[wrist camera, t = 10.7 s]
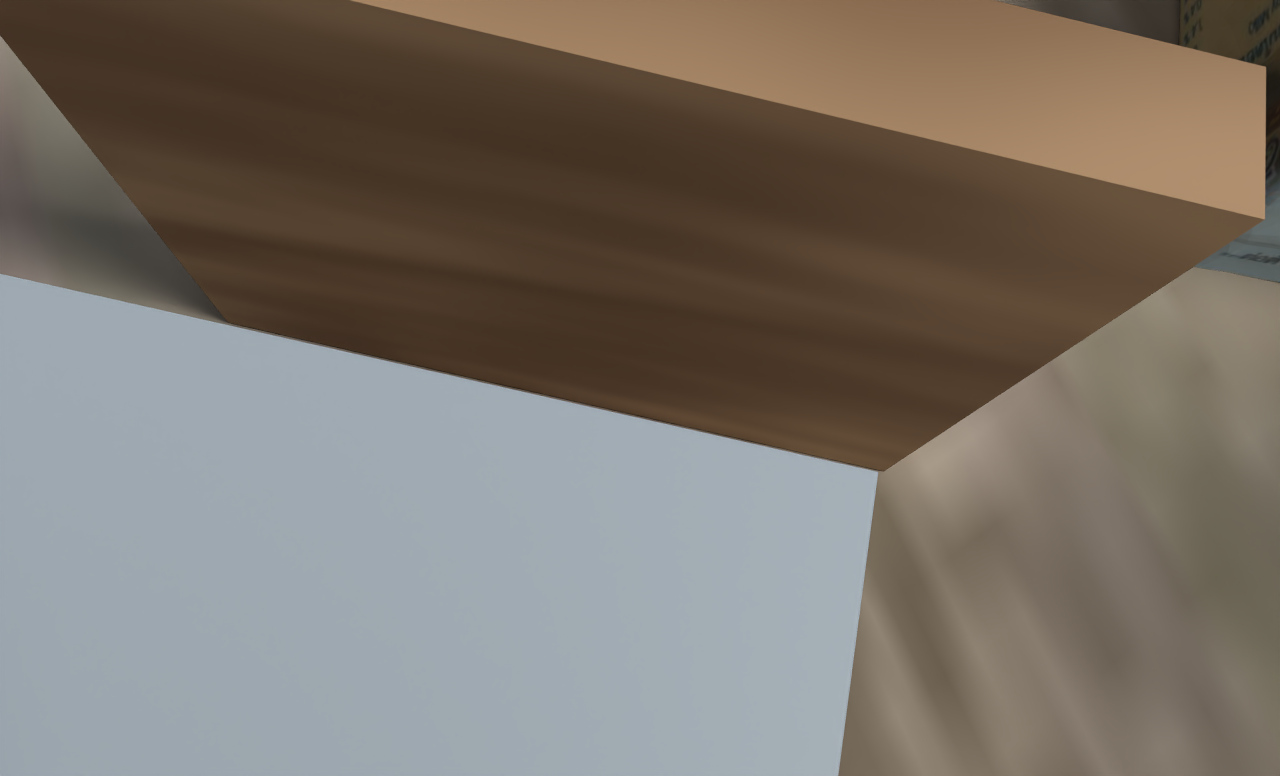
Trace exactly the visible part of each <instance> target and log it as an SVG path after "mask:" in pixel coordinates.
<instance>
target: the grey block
mask: <svg viewBox="0 0 1280 776" xmlns="http://www.w3.org/2000/svg"><path fill="white" fill-rule="evenodd" d="M877 477H878V472H876V471H871V470H867V469H863V468H858V467H854V466H849V465H845V464H840V463H836V462H832V461H827V460H823V459H818V458H814V457H809V456H805V455H801V454H796V453H792V452H787V451H783V450H778V449H774V448H770V447H765V446H761V445H756V444H752V443H747V442H743V441H739V440H734V439H730V438H725V437H721V436H716V435H712V434H708V433H703V432H699V431H694V430H690V429H685V428H681V427H677V426H672V425H668V424H663V423H659V422H654V421H650V420H646V419H641V418H637V417H632V416H628V415H623V414H619V413H615V412H610V411H606V410H601V409H597V408H592V407H588V406H584V405H579V404H575V403H570V402H566V401H561V400H557V399H553V398H548V397H544V396H539V395H535V394H530V393H526V392H522V391H517V390H513V389H508V388H504V387H499V386H495V385H491V384H486V383H482V382H477V381H473V380H468V379H464V378H460V377H455V376H451V375H446V374H442V373H437V372H433V371H429V370H424V369H420V368H415V367H411V366H406V365H402V364H398V363H393V362H389V361H384V360H380V359H375V358H371V357H367V356H362V355H358V354H353V353H349V352H344V351H340V350H336V349H331V348H327V347H322V346H318V345H313V344H309V343H305V342H300V341H296V340H291V339H287V338H282V337H278V336H274V335H269V334H265V333H260V332H256V331H251V330H247V329H243V328H238V327H234V326H229V325H225V324H220V323H216V322H212V321H207V320H203V319H198V318H194V317H189V316H185V315H181V314H176V313H172V312H167V311H163V310H158V309H154V308H150V307H145V306H141V305H136V304H132V303H127V302H123V301H119V300H114V299H110V298H105V297H101V296H96V295H92V294H88V293H83V292H79V291H74V290H70V289H65V288H61V287H57V286H52V285H48V284H43V283H39V282H34V281H30V280H26V279H21V278H17V277H12V276H8V275H3V274H0V776H838V772H839V765H840V757H841V750H842V742H843V735H844V727H845V719H846V712H847V704H848V697H849V689H850V682H851V674H852V666H853V659H854V651H855V644H856V636H857V629H858V621H859V613H860V606H861V598H862V591H863V583H864V576H865V568H866V560H867V553H868V545H869V538H870V530H871V523H872V515H873V507H874V500H875V492H876V485H877Z"/></svg>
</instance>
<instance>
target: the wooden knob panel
mask: <svg viewBox="0 0 1280 776" xmlns="http://www.w3.org/2000/svg"><path fill="white" fill-rule="evenodd" d="M0 36H1V37H2V38H3V39H4V41H5V42H6V43H7V44H8V46H9V47H10V48H11V49H12V51H13V52H14V53H15V54H16V56H17V57H18V58H19V60H20V61H21V62H22V63H23V65H24V66H25V67H26V68H27V70H28V71H29V72H30V73H31V75H32V76H33V77H34V78H35V80H36V81H37V82H38V84H39V85H40V86H41V87H42V89H43V90H44V91H45V92H46V94H47V95H48V96H49V97H50V99H51V100H52V101H53V102H54V104H55V105H56V106H57V107H58V109H59V110H60V111H61V113H62V114H63V115H64V116H65V118H66V119H67V120H68V121H69V123H70V124H71V125H72V126H73V128H74V129H75V130H76V131H77V133H78V134H79V135H80V136H81V138H82V139H83V140H84V142H85V143H86V144H87V145H88V147H89V148H90V149H91V150H92V152H93V153H94V154H95V155H96V157H97V158H98V159H99V160H100V162H101V163H102V164H103V166H104V167H105V168H106V169H107V171H108V172H109V173H110V174H111V176H112V177H113V178H114V179H115V181H116V182H117V183H118V184H119V186H120V187H121V188H122V189H123V191H124V192H125V193H126V195H127V196H128V197H129V198H130V200H131V201H132V202H133V203H134V205H135V206H136V207H137V208H138V210H139V211H140V212H141V213H142V215H143V216H144V217H145V218H146V220H147V221H148V222H149V224H150V225H151V226H152V227H153V229H154V230H155V231H156V232H157V234H158V235H159V236H160V237H161V239H162V240H163V241H164V242H165V244H166V245H167V246H168V248H169V249H170V250H171V251H172V253H173V254H174V255H175V256H176V258H177V259H178V260H179V261H180V263H181V264H182V265H183V266H184V268H185V269H186V270H187V271H188V273H189V274H190V275H191V277H192V278H193V279H194V280H195V282H196V283H197V284H198V285H199V287H200V288H201V289H202V290H203V292H204V293H205V294H206V295H207V297H208V298H209V299H210V300H211V302H212V303H213V304H214V306H215V307H216V308H217V309H218V311H219V312H220V313H221V314H222V316H223V317H224V318H225V319H226V321H227V322H228V323H233V324H237V325H241V326H246V327H250V328H255V329H259V330H263V331H268V332H272V333H277V334H281V335H285V336H290V337H294V338H299V339H303V340H307V341H312V342H316V343H321V344H325V345H329V346H334V347H338V348H343V349H347V350H351V351H356V352H360V353H365V354H369V355H374V356H378V357H382V358H387V359H391V360H396V361H400V362H404V363H409V364H413V365H418V366H422V367H426V368H431V369H435V370H440V371H444V372H448V373H453V374H457V375H462V376H466V377H470V378H475V379H479V380H484V381H488V382H493V383H497V384H501V385H506V386H510V387H515V388H519V389H523V390H528V391H532V392H537V393H541V394H545V395H550V396H554V397H559V398H563V399H567V400H572V401H576V402H581V403H585V404H589V405H594V406H598V407H603V408H607V409H611V410H616V411H620V412H625V413H629V414H634V415H638V416H642V417H647V418H651V419H656V420H660V421H664V422H669V423H673V424H678V425H682V426H686V427H691V428H695V429H700V430H704V431H708V432H713V433H717V434H722V435H726V436H730V437H735V438H739V439H744V440H748V441H753V442H757V443H761V444H766V445H770V446H775V447H779V448H783V449H788V450H792V451H797V452H801V453H805V454H810V455H814V456H819V457H823V458H827V459H832V460H836V461H841V462H845V463H849V464H854V465H858V466H863V467H867V468H872V469H876V470H880V471H885V470H886V469H888V468H889V467H891V466H892V465H894V464H895V463H897V462H898V461H900V460H901V459H903V458H904V457H906V456H908V455H909V454H911V453H912V452H914V451H915V450H917V449H918V448H920V447H921V446H923V445H924V444H926V443H927V442H929V441H930V440H932V439H933V438H935V437H936V436H938V435H939V434H941V433H942V432H944V431H945V430H947V429H948V428H950V427H951V426H953V425H954V424H956V423H957V422H959V421H961V420H962V419H964V418H965V417H967V416H968V415H970V414H971V413H973V412H974V411H976V410H977V409H979V408H980V407H982V406H983V405H985V404H986V403H988V402H989V401H991V400H992V399H994V398H995V397H997V396H998V395H1000V394H1001V393H1003V392H1004V391H1006V390H1007V389H1009V388H1010V387H1012V386H1014V385H1015V384H1017V383H1018V382H1020V381H1021V380H1023V379H1024V378H1026V377H1027V376H1029V375H1030V374H1032V373H1033V372H1035V371H1036V370H1038V369H1039V368H1041V367H1042V366H1044V365H1045V364H1047V363H1048V362H1050V361H1051V360H1053V359H1054V358H1056V357H1057V356H1059V355H1060V354H1062V353H1063V352H1065V351H1067V350H1068V349H1070V348H1071V347H1073V346H1074V345H1076V344H1077V343H1079V342H1080V341H1082V340H1083V339H1085V338H1086V337H1088V336H1089V335H1091V334H1092V333H1094V332H1095V331H1097V330H1098V329H1100V328H1101V327H1103V326H1104V325H1106V324H1107V323H1109V322H1110V321H1112V320H1113V319H1115V318H1116V317H1118V316H1119V315H1121V314H1123V313H1124V312H1126V311H1127V310H1129V309H1130V308H1132V307H1133V306H1135V305H1136V304H1138V303H1139V302H1141V301H1142V300H1144V299H1145V298H1147V297H1148V296H1150V295H1151V294H1153V293H1154V292H1156V291H1157V290H1159V289H1160V288H1162V287H1163V286H1165V285H1166V284H1168V283H1169V282H1171V281H1172V280H1174V279H1176V278H1177V277H1179V276H1180V275H1182V274H1183V273H1185V272H1186V271H1188V270H1189V269H1191V268H1192V267H1194V266H1195V265H1197V264H1198V263H1200V262H1201V261H1203V260H1204V259H1206V258H1207V257H1209V256H1210V255H1212V254H1213V253H1215V252H1216V251H1218V250H1219V249H1221V248H1222V247H1224V246H1225V245H1227V244H1229V243H1230V242H1232V241H1233V240H1235V239H1236V238H1238V237H1239V236H1241V235H1242V234H1244V233H1245V232H1247V231H1248V230H1250V229H1251V228H1253V227H1254V226H1256V225H1257V224H1259V223H1260V222H1262V221H1263V220H1265V148H1266V67H1264V66H1260V65H1256V64H1252V63H1248V62H1244V61H1240V60H1236V59H1232V58H1228V57H1224V56H1219V55H1215V54H1211V53H1207V52H1203V51H1199V50H1195V49H1191V48H1187V47H1183V46H1179V45H1175V44H1171V43H1166V42H1162V41H1158V40H1154V39H1150V38H1146V37H1142V36H1138V35H1134V34H1130V33H1126V32H1122V31H1118V30H1113V29H1109V28H1105V27H1101V26H1097V25H1093V24H1089V23H1085V22H1081V21H1077V20H1073V19H1069V18H1064V17H1060V16H1056V15H1052V14H1048V13H1044V12H1040V11H1036V10H1032V9H1028V8H1024V7H1020V6H1016V5H1011V4H1007V3H1003V2H999V1H995V0H0Z"/></svg>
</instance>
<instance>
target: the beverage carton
mask: <svg viewBox="0 0 1280 776" xmlns="http://www.w3.org/2000/svg"><path fill="white" fill-rule="evenodd" d="M1179 46H1183V47H1187V48H1191V49H1195V50H1199V51H1203V52H1207V53H1211V54H1215V55H1219V56H1224V57H1228V58H1232V59H1236V60H1240V61H1244V62H1248V63H1252V64H1256V65H1260V66H1264V67H1266V148H1265V220H1263V221H1262V222H1260V223H1259V224H1257V225H1256V226H1254V227H1253V228H1251V229H1250V230H1248V231H1247V232H1245V233H1244V234H1242V235H1241V236H1239V237H1238V238H1236V239H1235V240H1233V241H1232V242H1230V243H1229V244H1227V245H1225V246H1224V247H1222V248H1221V249H1219V250H1218V251H1216V252H1215V253H1213V254H1212V255H1210V256H1209V257H1207V258H1206V259H1204V260H1203V261H1201V262H1200V263H1198V264H1197V265H1195V266H1194V267H1197V268H1204V269H1210V270H1217V271H1223V272H1229V273H1234V274H1238V275H1243V276H1248V277H1253V278H1258V279H1264V280H1269V281H1275V282H1279V283H1280V0H1181V2H1180V35H1179Z"/></svg>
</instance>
